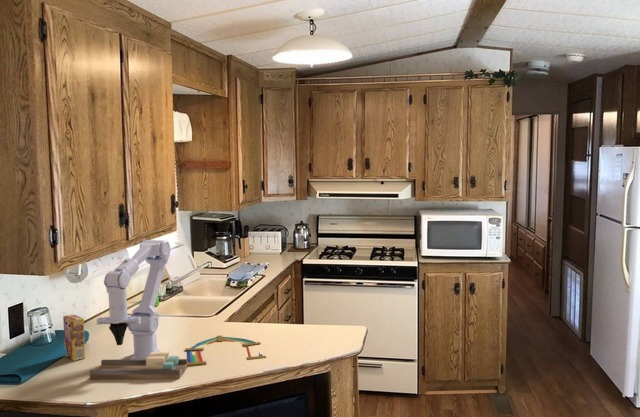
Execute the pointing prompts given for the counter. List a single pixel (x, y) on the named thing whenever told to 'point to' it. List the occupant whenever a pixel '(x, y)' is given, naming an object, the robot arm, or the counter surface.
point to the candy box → (74, 336)
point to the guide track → (139, 369)
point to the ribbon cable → (197, 359)
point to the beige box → (156, 360)
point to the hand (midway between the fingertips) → (119, 344)
